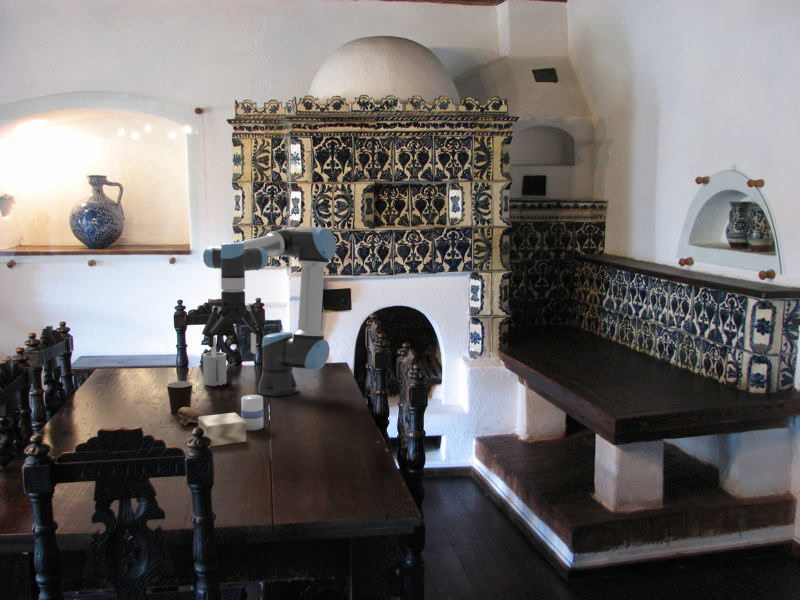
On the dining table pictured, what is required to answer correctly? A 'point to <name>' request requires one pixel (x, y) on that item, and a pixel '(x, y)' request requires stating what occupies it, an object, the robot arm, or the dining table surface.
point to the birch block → (223, 428)
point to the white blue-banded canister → (252, 411)
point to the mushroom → (188, 415)
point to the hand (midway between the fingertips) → (233, 355)
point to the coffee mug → (179, 395)
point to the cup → (214, 369)
